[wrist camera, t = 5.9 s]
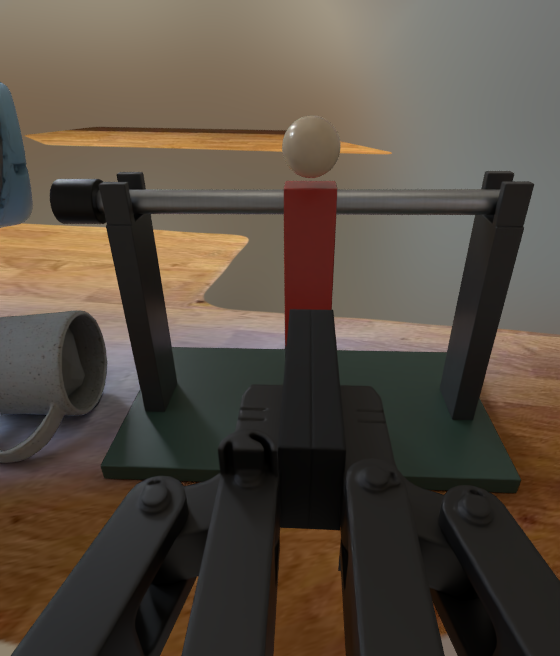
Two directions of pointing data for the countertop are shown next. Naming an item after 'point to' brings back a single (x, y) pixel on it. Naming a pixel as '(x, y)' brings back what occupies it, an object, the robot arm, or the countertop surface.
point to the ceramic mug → (49, 371)
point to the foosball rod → (286, 208)
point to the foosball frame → (354, 366)
